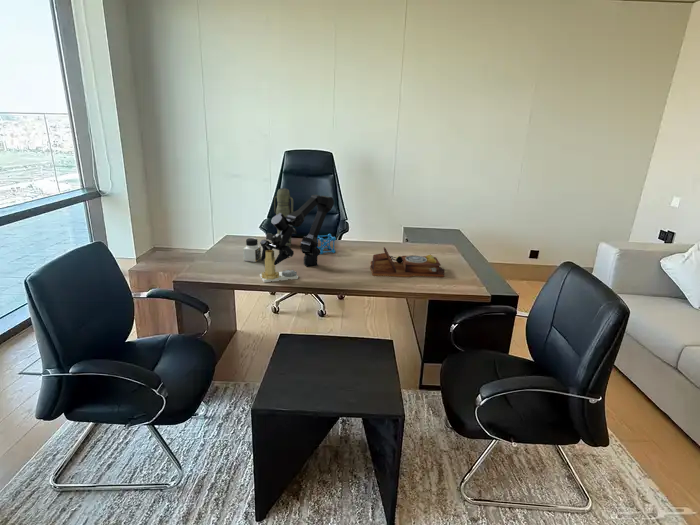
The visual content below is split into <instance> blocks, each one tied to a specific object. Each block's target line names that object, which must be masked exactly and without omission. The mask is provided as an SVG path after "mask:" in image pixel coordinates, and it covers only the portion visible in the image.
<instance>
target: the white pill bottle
mask: <svg viewBox="0 0 700 525" xmlns="http://www.w3.org/2000/svg"><path fill="white" fill-rule="evenodd" d="M258 244H259V243H258V239H257V238H255V237H248V238H247V239H246V241H245V247H243V261H244V262H252V263H253V262H254V263H256V262H258V261H259V260H261V256H262V249H261V248H262V246H261V245H260V246H259V245H258Z"/></svg>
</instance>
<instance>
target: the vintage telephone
mask: <svg viewBox="0 0 700 525" xmlns="http://www.w3.org/2000/svg"><path fill="white" fill-rule="evenodd" d="M394 258H395V259H394ZM437 258H438V257H435V256H434V255H432V254H427V255H424V256H422V255H421V256H420V255H416V254H415V255H414V254H409V255H398V256H396V257H395V256H392V255H390V254H389V252H388V250H387V249H386V247H383V252H382V253H381V252H380V253H375V254H373V256H372V260H371V261H370V267H369V270H370V271H371V275H372V276H373V277H393V278H394V277H395V278H396V277H397V278H412V277H429V278H430V277H431V278H445V269H444V268H443V267H441V266H442V264H441V263H440V261H439V260H438V259H437Z"/></svg>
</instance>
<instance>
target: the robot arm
mask: <svg viewBox="0 0 700 525" xmlns="http://www.w3.org/2000/svg"><path fill="white" fill-rule="evenodd" d="M334 204H335V201H334V198H333V197H331V196H327V195H318V194H312V195H311V196H310V197H309V199H308V200H306V201H305V203H303V204H302V205H301V206H300V207H299V208H298V209H297V210H295V211H294V210H293V212H292V213H290V214H289V215H288V216H287V217H284V215H283V214H282V213H279V214H278V215H276V214H275V215H274V216H273V217H272V218H271V220H270V221H271V222H270V223H271V224H272V225H273V226H274V227H275V229H276V230H277V229H278V230H279V231H280V233H279V234H277V233H276V234H272V233H269V232H267V234H266V237H265V239H261V241H260V242H259V244H260V247H261V248H262V250H261V258H260V261H265V257H266V253H265V251H266V250H275V251H278V255H277V257H275V262H274V265H275V266H277V265H278V264H280V263H281V262H283V261H285V260H286V259H289V258H292V257H293V256H294V254H295V253H294V250H293V249H292V248H291V246H285V245H286V244H287V243H288V244H289V239H290V237H291V238H292V235H293V234H294V235H297V229H296V228H299V227H301V226H302V224H303V223H304V222H305V217H306V216H307V215H308V214H309V213H310V212H311V211H312V210H313V209H314V208H316V207H317V212H316V214H315V217H314V220H313V222H312V224H311V227H310V229H309V232H308V234H307V235H306V236H303V237H302V239H301V241H300V246H299V247H300V249H301V252H302V254H304V256H303V265H304V266H305V267H306V268H310V267H311V268H312V267H319V264H318V257H319V255H321V254H320V251H321V249H318V248H317V245H318V246H319V240H318V241H317V237H318V235H319V234H320V232H321V229H322V227H323V223H324V222H325V219H326V216H327V214H328V213H329V212H330V211H331V210H332V208H333V207H334ZM294 227H296V228H294Z"/></svg>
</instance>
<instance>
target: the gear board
mask: <svg viewBox="0 0 700 525" xmlns="http://www.w3.org/2000/svg"><path fill="white" fill-rule="evenodd" d="M278 272H279V278H275V279H273V280H272V279H268V280H267V279H265V278H262V275H261V274H262V273H259V277H260V278H262V279H261V280H262V281H263V282H262V283H269V282H271V281H272V282H278V281H279V280H281V281H289V280H288V279H291V280H297V279H299V275H297V273H298V272H297V271H295V270H294V269H291V270H290V269H286V270H282V271H278ZM279 282H280V281H279Z"/></svg>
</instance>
